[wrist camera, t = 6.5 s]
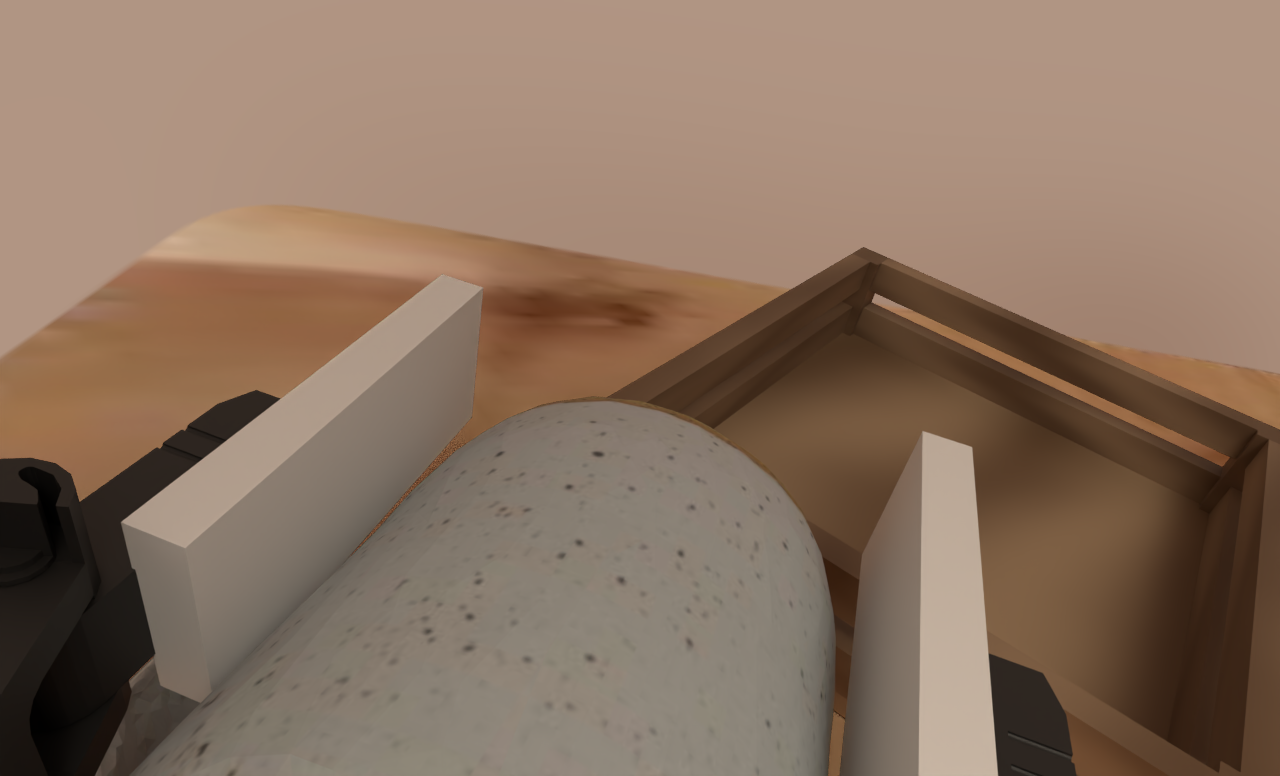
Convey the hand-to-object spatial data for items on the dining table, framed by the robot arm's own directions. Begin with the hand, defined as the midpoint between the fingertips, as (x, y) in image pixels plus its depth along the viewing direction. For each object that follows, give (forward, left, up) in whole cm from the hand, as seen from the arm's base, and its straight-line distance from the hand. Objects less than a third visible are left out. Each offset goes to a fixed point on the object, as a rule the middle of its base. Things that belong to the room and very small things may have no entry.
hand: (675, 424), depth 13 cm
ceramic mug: (0, +5, -6) cm, 8 cm away
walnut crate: (-4, -10, -6) cm, 12 cm away
